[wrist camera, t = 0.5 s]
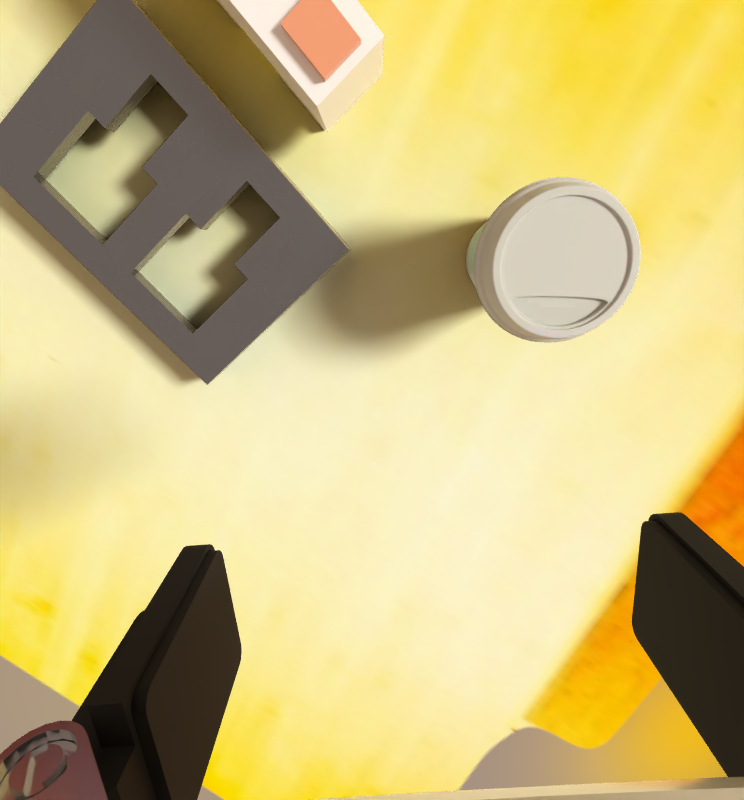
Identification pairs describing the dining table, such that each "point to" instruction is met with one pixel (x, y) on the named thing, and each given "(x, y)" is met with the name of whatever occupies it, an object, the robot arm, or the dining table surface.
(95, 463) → the dining table surface
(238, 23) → the white block orange button
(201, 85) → the grey frame with openings
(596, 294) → the coffee cup
